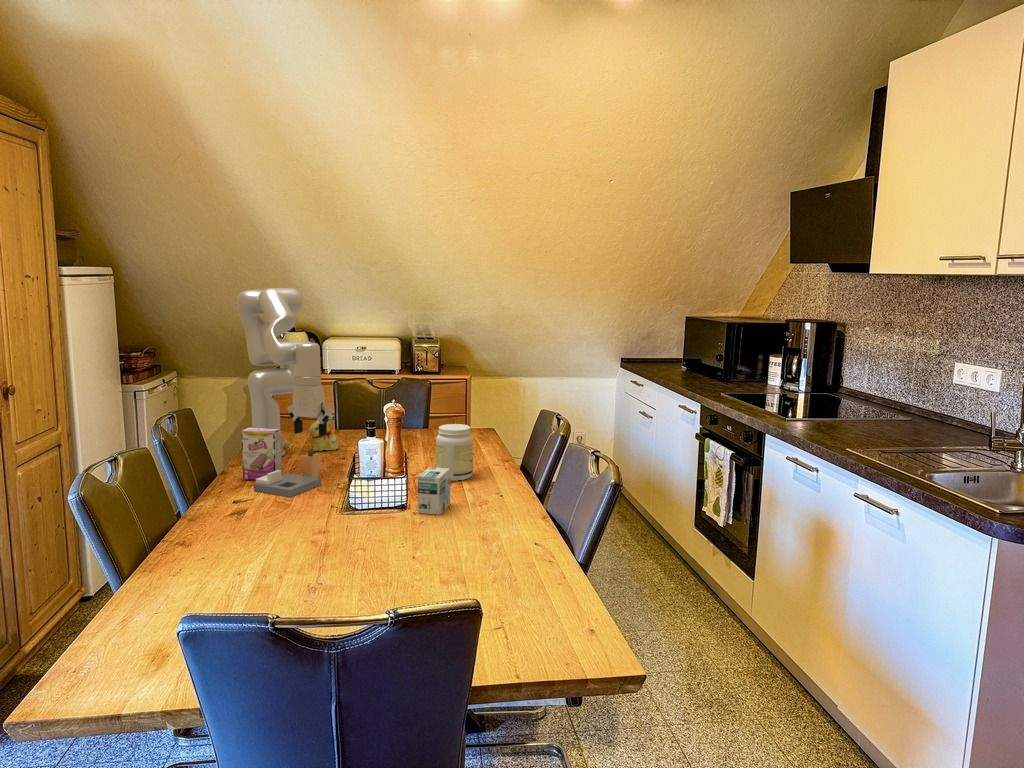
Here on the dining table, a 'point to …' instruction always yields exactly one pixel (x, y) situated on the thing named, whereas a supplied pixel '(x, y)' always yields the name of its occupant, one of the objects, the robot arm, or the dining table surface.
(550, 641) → the dining table surface
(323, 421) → the robot arm
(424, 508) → the light bulb box
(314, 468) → the plug
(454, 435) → the supplement tub
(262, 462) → the candy bar box
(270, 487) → the socket plate
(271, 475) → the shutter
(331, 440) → the chocolate bunny
